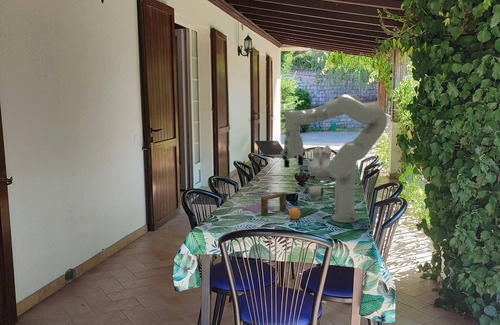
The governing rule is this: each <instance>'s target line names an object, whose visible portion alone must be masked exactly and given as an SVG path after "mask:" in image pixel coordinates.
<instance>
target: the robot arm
mask: <svg viewBox="0 0 500 325" xmlns="http://www.w3.org/2000/svg"><path fill="white" fill-rule="evenodd" d="M342 115H345V116H347V117H348V118H350V119H353V120H354V121H356V122H358V123H360V124H363V125H366V126H364V127H363V129H362V130H361V131H360V132H359V133H358V135H357V136H356V137H355V139H353V140H352V141H348V142H346V143H344V144H343V145H342V146H341V147H340V149H339V150H338V151H337V152H336V154H335V155H334V156H333V157H332V159H330V160H331V162H330V164H329V166H328V173H329V175H330V176H329V177H330V178H332V179H334V180H335V182H334V183H335V184H334V186H335V187H334V188H335V189H334V214H333V215H332V216H331V220H332V221H334V222H337V223H345V224H346V223H355V222H357V221H359V219H360V218H361V215H359V214H357V211H356V210H355V200H356V199H355V195H356V190H355V189H356V176H357V169H358V167H357V162H358V161H361V160H362V159H364V158H365V157H366V156H367V154H369V152H370V150H371V149H373V147H374V145H375V144H376V143H377V141H378V140H379V139H380V138H381V136H382V135H383V133H384V131H385V130H386V127H387V124H388V118H387V114H386V112H385V110H384V108H383V107H382V106H380V105H378V104H365V103H363V102H361V98H360V97H359V96H358V94H355V93H345V94H342V95H340V96H338V97H337V98H335V99H330V100H328V101H325V104H323V105H320V106H317V107H314V108H310V109H301V110H297V109H295V110H293V109H291V110H287V111H285V114H284V116H285V117H284V118H285V119H284V120H285V132H284V136H285V137H284V144H283V149H282V150H281V151H280V152H279V154H280V156H281V158H282V160H283V161H284V162H283V164H284V168H287V169H288V168H290V160H289V159H290V157H296V156H297V165H298V166H304V159H305V155H306V151H307V149H306V148H305V147H304V143H303V138H302V136H301V126H303V125H311V124H315V123H319V122H322V121H326V120H329V119H332V118H336V117H340V116H342Z"/></svg>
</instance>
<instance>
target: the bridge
mask: <svg viewBox="0 0 500 325" xmlns="http://www.w3.org/2000/svg"><path fill="white" fill-rule="evenodd" d="M277 198H279V212H283V213H284V212H286V211H287V194H286V193H284V192H279V193H275V194H270V195H266V196H265V195H264V196H261V197H260V204H261V211H260V216H263V217H267V216H269V211H268V207H269V206H268V205H269V204H268V202H269V200H272V199H277Z"/></svg>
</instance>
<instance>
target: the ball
mask: <svg viewBox="0 0 500 325" xmlns="http://www.w3.org/2000/svg"><path fill="white" fill-rule="evenodd" d="M301 215H302V212H301V210H300V209H299V208H298V207H292V208H290V209H289V211H288V216H289V218H290V219H292V220H298V219H299V218H301Z"/></svg>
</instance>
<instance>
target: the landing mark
mask: <svg viewBox="0 0 500 325" xmlns="http://www.w3.org/2000/svg"><path fill="white" fill-rule="evenodd" d="M241 209H243V210H245V211H250V212H252V213H261V203H258V204H257V203H256V204H253V205H247V206H246V205H245V206H241ZM272 209H274V207H272V206H268V210H269V211H270V210H272Z"/></svg>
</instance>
